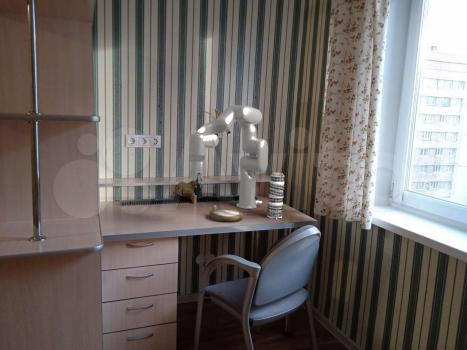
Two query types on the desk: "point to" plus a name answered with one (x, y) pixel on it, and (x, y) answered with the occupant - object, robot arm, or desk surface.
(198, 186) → the robot arm
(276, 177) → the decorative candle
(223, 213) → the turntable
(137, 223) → the desk surface
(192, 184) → the lion figurine
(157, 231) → the desk surface
